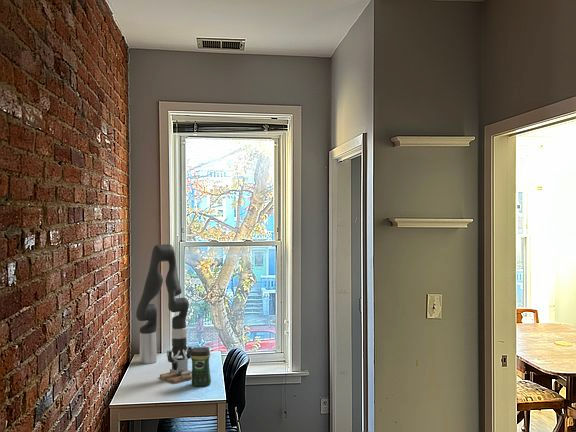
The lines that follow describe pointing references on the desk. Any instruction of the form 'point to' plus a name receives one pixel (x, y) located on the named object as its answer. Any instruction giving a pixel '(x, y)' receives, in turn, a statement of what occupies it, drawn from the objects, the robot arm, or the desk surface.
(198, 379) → the coffee jar
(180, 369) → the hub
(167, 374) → the stand
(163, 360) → the desk surface
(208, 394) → the desk surface
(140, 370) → the desk surface
